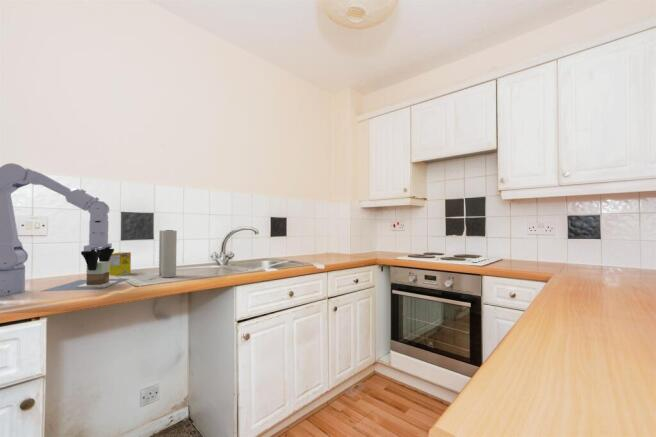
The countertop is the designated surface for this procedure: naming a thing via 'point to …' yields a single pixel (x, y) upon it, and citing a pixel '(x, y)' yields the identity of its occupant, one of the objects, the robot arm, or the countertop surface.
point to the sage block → (100, 268)
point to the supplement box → (120, 263)
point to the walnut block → (97, 279)
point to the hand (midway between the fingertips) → (98, 268)
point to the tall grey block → (167, 253)
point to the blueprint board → (84, 285)
